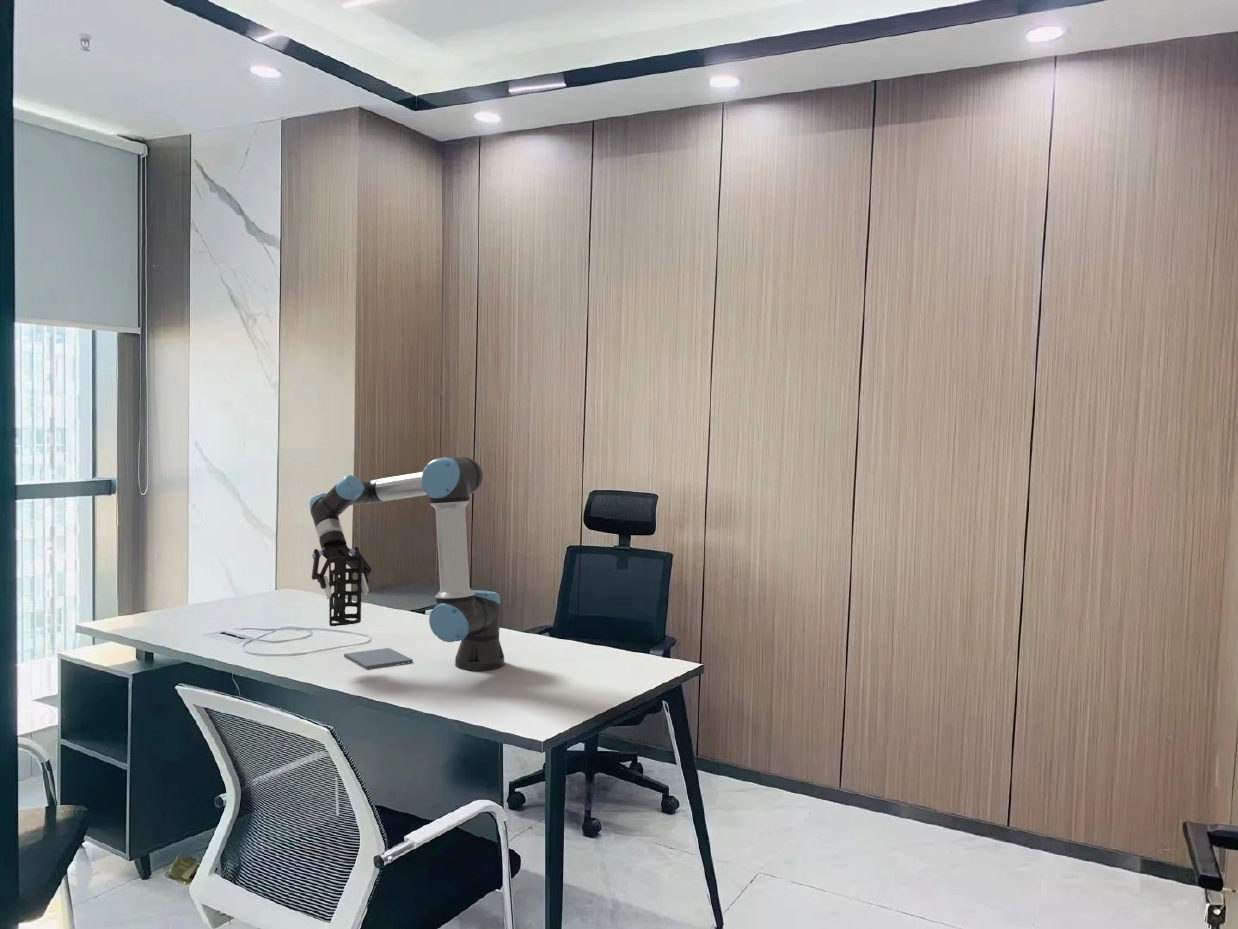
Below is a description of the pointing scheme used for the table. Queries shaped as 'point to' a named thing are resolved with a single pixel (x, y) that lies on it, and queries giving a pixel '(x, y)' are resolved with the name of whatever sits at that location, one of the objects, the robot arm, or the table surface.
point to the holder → (344, 590)
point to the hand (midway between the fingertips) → (348, 594)
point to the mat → (377, 658)
